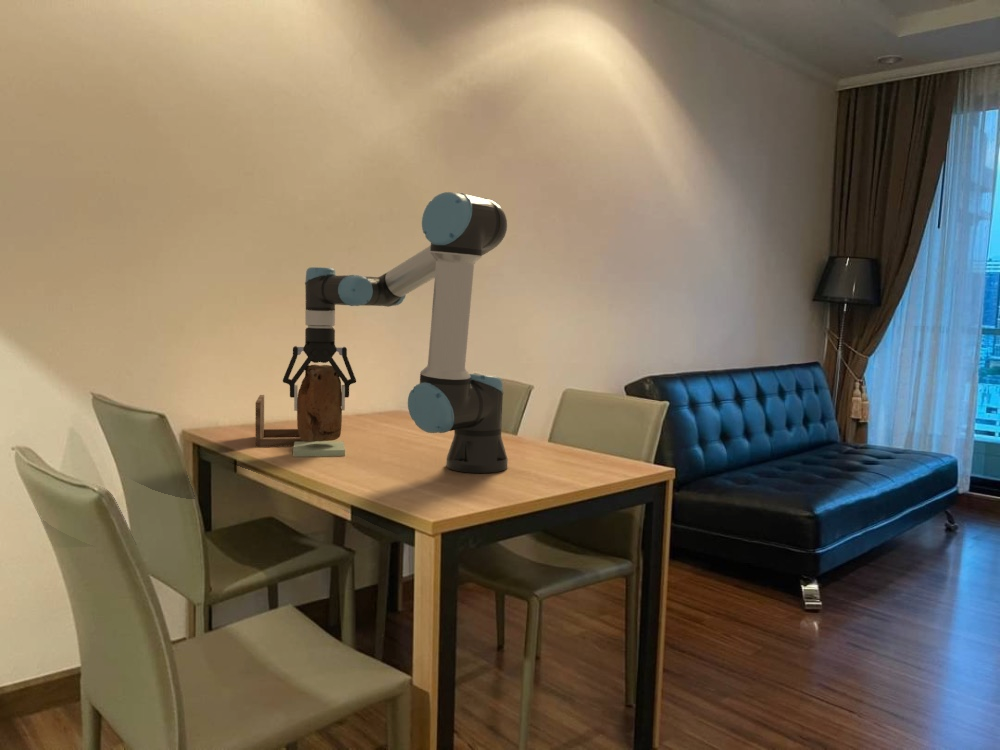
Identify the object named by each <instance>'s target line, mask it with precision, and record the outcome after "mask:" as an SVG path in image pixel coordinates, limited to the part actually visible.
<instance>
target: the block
mask: <svg viewBox="0 0 1000 750" xmlns="http://www.w3.org/2000/svg"><path fill="white" fill-rule="evenodd" d="M341 406H342V379H341V378H340V377H339V375H338V374H337V372H336V371H335V370H334V368H333V367H332V365H331V364H320V365H319V364H309V365H308V366H307V368H306V369H305V370H304V377H303V379H302V381H301V384H300V387H299V388H298V398H297V411H296V422H297V423H296V425H297V429H298V433H299V436H298V437H299V438H301V441H304V442H315V441H319V442H320V441H337V440H338V439H339V438H340V437H341V435H342V434H341V433H342V426H343V425H342V422H343V410H342V409H341Z"/></svg>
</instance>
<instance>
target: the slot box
mask: <svg viewBox="0 0 1000 750" xmlns="http://www.w3.org/2000/svg"><path fill="white" fill-rule="evenodd" d="M266 437H267V438H266ZM268 437H269V438H268ZM275 437H276V438H275ZM281 437H282V438H281ZM283 437H284V438H283ZM289 437H290V438H289ZM294 442H303V441H301V438H300V436H299V433H298V428H267V429H266V428H265V395H264V394H260V395H259V396H258V397H257V399H256V401H255V448H257V447H260V448H262V447H264V448H266V447H294Z"/></svg>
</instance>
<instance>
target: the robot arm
mask: <svg viewBox="0 0 1000 750" xmlns="http://www.w3.org/2000/svg"><path fill="white" fill-rule="evenodd" d="M421 228H422V232H423V234H424V235H425V239H426V240H427V241H428V242H429V243H430V245H429V246H428V247H425V248H424V249H422V250H421V251H419V252H417V253H416V254H414V255H413V256H412V257H409V258H408V259H406V260H405V261H403V262H401V263H400V264H398V265H396V266H395V267H393V268H392V269H390V270H388V271H387V272H386V273H383V274H382V275H380V276H363V275H357V274H356V275H355V274H349V275H348V274H347V275H336V270H335V269H334V268H333V267H318V266H317V267H316V266H314V267H308V268H307V269H306V271H305V282H304V285H305V310H304V311H305V317H304V319H305V321H304V322H305V326H307V327H305V335H304V336H305V338H304V339H305V340H304V341H305V342H304V346H297V345H294V346H293V347H292V356H291V358H290V361H289V364H288V366H287V369H286V371H285V373H284V376H283V378H282V383H284V384H287V385H288V386H289V397H290V398H293V401H294V403H293V410H294V411H296V412H297V398H298V392H299V388H298V387H299V384H296V383H297V381H298V380H299V379H300V377H301V376H302V374H304V373H305V369H306V368H307V366H308V365H311V363H313V364H316V363H317V364H319V363H322V364H326V363H329V365H330V366H332V367H333V368H334V370H335V371H336V372H337V374H338V375H339V377H340V380H341V382H342V383H343V384H341V392H342V406H341V409H342V411H346V410H345V409H346V405H345V403H346V402H345V401H346V398H349V397H350V386H351V385H352V384H356V383H357V378H356V377H355V373H354V370H353V368H352V366H351V363H350V361H349V358H348V349H347V347H346V346H343V347H337V346H336V341H335V340H336V338H335V337H336V329H335V328H334V326H335V325H336V305H337V306H339V305H340V306H349V307H360V306H363V307H364V306H370V307H371V306H375V307H377V306H378V307H394V306H395V307H397V306H399V305H400V304H402V303H403V301H404V300H405V298H406V295H407V294H410V293H411V292H413V291H414V290H416V289H418V288H420V287H421V286H423V285H425V284H427V283H429V282H430V281H432V280H434V281H433V282H434V284H433V297H432V307H431V309H432V310H431V320H430V333H429V335H430V336H429V342H428V343H429V344H428V346H429V348H428V355H427V356H428V358H427V365H426V366H425V367H424V368H423V369H422V370H421V371H420V374H419V383H418V384H416V385H415V386H413V387H412V389H410V391H409V394H408V398H407V409H408V412H409V416H410V418H411V420H412V421H413V422H414V424H415V426H416V427H417V428H418V429H420V430H421V431H423V432H426V433H428V434H429V433H430V434H437V433H438V434H445V433H448V432H452V431H453V432H454V433H453V438H452V442H451V444H450V448H449V450H448V453H447V455H446V464H445V465H446V468H448V469H449V470H452V471H455V472H461V473H462V472H463V473H469V474H470V473H471V474H472V473H473V474H488V473H489V474H491V473H497V472H502V471H505V470H507V469H508V463H509V462H508V461H509V460H508V456H507V452H506V448H505V445H504V442H503V438H502V429H503V428H502V427H503V426H502V423H503V398H504V397H503V396H504V387H503V381H502V379H501V378H500V377H499V376H495V375H494V376H493V375H486V374H476V373H475V374H474V373H469V372H468V371H467V370H466V362H467V361H466V360H467V359H466V358H467V349H468V348H467V347H468V339H469V338H468V335H469V325H470V316H471V315H470V313H471V301H472V293H473V281H474V280H473V279H474V269H475V264H476V263H477V261H479V260H480V259H482V256H484V255H487V254H488V253H489V252H491V251H492V250H494V249H496V248H497V247H498V246H499V245H500V244H501V243H502V242H503V240H504V238H505V237H506V234H507V230H508V220H507V216H506V213H505V211H504V210H503V209H502V207H501V206H500V205H499V204H498V203H496V202H495V201H493V200H491V199H488V198H485V197H484V198H483V197H478V196H474V195H471V194H470V195H469V194H466V193H462V192H458V191H457V192H453V191H452V192H451V191H450V192H449V191H448V192H441V193H439V194H437V195H436V196H434V197H432V200H431V201H429V202H428V203H427V205H426V206H425V209H424V211H423V214H422V217H421ZM302 352H304V354H305V355H306V356H307V357H306V359H305V361H304V362H303V363H302V365H301V366H300V367H299V369H298V370H297V371H296V373H295V374H294V375H293V376H292V378H291V379H290V375H291V374H292V371H293V368H294V366H295V363H296V360H297V359H298V356H300V355H301V353H302ZM336 352H337V353H338V354H339V355H340V356H341V357H342V360H343V363H344V365H345V368H346V370H347V373H348V376H349V378H350V379H348V378H347V377H346V376H345V374H344V372H343V370H342V369H341V368H340V367H339V365H338V364H337V363H336V361H335V360H334V358H333V357H334V355H335V354H336Z"/></svg>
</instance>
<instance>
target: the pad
mask: <svg viewBox="0 0 1000 750" xmlns="http://www.w3.org/2000/svg"><path fill="white" fill-rule="evenodd" d="M345 456H346V448H345V442H344V440H332V441H320V442H319V441H315V442H304V441H303V442H294V446H293V449H292V457H295V458H296V457H297V458H299V457H345Z"/></svg>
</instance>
